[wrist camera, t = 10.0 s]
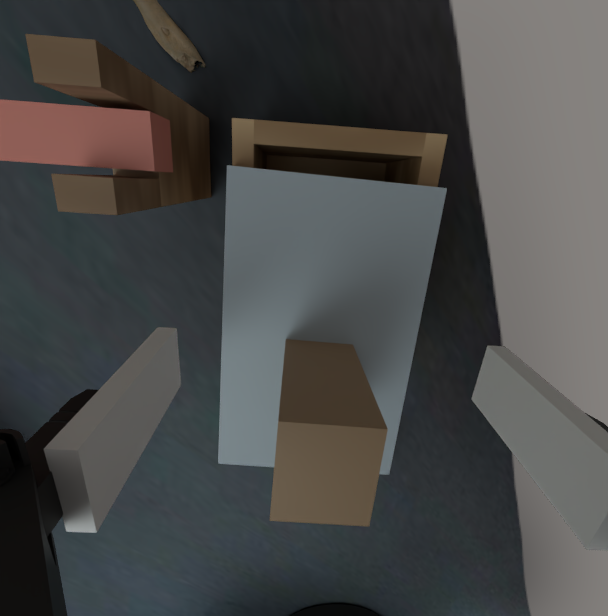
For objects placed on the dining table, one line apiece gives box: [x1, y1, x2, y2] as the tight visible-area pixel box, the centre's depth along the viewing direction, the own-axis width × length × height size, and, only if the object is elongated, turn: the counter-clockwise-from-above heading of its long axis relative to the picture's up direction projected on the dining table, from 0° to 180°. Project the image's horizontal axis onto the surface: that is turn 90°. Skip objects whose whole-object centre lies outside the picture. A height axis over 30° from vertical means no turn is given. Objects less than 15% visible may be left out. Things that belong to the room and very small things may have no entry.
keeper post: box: [26, 34, 211, 215], centre depth 17 cm, size 5×2×13 cm, turn 176°
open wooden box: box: [232, 118, 447, 187], centre depth 22 cm, size 16×10×8 cm, turn 176°
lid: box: [218, 165, 447, 526], centre depth 15 cm, size 16×10×9 cm, turn 174°
